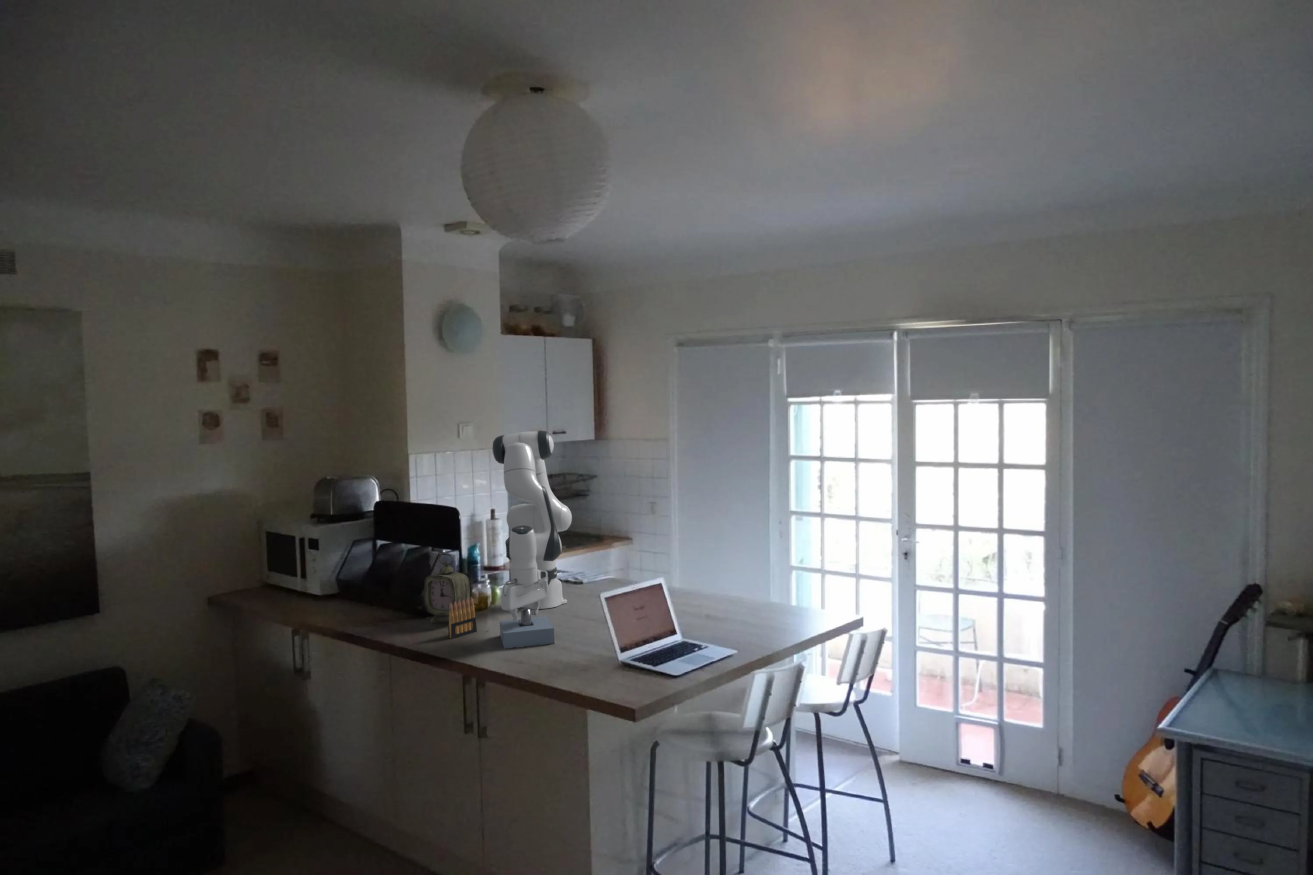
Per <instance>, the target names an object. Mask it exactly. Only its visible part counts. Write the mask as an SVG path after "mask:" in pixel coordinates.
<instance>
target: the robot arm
mask: <svg viewBox="0 0 1313 875" xmlns="http://www.w3.org/2000/svg"><path fill="white" fill-rule="evenodd" d="M554 444H555V443H554V439H553V437H552V435H551V433H549V432H548V431H546V430H538V431H537V430H536V431H533V430H532V431H531V430H530V431H529V430H528V431H521V432H515V433H511V434H510V433H509V434H506V435H504V434H502V435H499V436H496V437H495V439H494V440H493V442H492V446H491V451H492V455H493V458H494V460H495V462H497V463H498V464H500V465H503V481H504V482H503V483H504V488H505V490H506V492H507V493H508V494H509V495H510V496H511V497H513V498H515V499H516V500H519V501H522V502H525V503H521V504H520V503H519V504H516V505H512V506H511V507H510V508H509V509H508V511H507V513H506V523H507V527H508V528H509V529H510V534H509V536H508V537H507V539H505V543H504V544H505V549H506V552H505V553H506V555H505V557H506V558H508V560H509V561H510V566H509V571H510V580H507V581H505V583H504V585H503V586H502V591H501V600H500V606H501V609H502V610H503V611H507V612H509V613H510V614H511V616H512V620H513V622H518V621H520V619H521V615H518V611H519V610H518V609H523V608H530V609H531V616H537V615H538V614H539V610H544V609H550V608H555V607H559V606H561V605H563V604H567V603H568V600H567V599H566V598H564V597H563V586H562V582H561V580H559V578H558V568H557V567H556V559H558V558H559V557H560V556H561V555H562V551H563V550H562V548H563V547H562V546H563V545H562V540H561V538H560V535H559V532H564V531H567V530H568V529H569V528H570V527H571V525H572V522H573V516H572V511H571V510H570V508H569V507H568V506H567V505H565V504H564V503H562V502H561V501H560V500H559V499H558V498H557V497H556V496H555V494H554V493H553V491H552V489H551V486H550V483H549V478H548V474H547V467H546V463H545V460H546V459H549V458H550V457H551V456H552V455H553V452H554V447H555V446H554Z"/></svg>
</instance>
